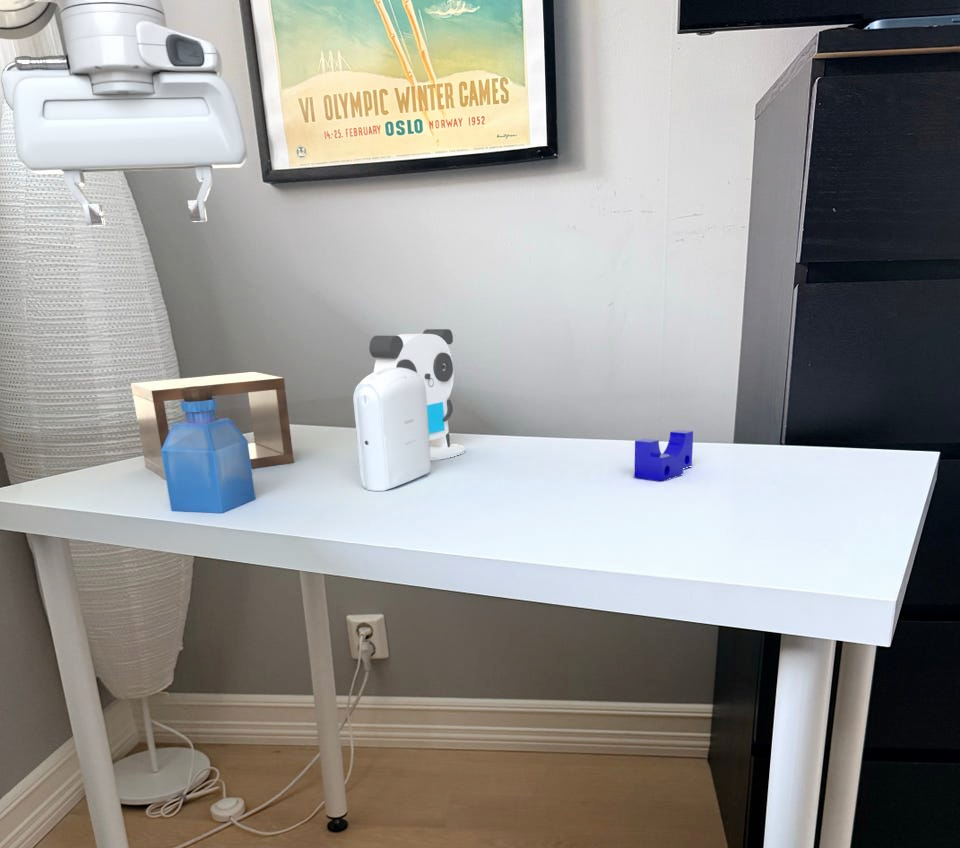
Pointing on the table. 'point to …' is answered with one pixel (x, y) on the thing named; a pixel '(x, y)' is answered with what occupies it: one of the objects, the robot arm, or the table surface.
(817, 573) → the table surface
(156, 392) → the shelf rack
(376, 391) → the photo printer
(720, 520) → the table surface
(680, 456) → the cable holder
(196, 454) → the perfume bottle
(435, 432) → the panda figurine
